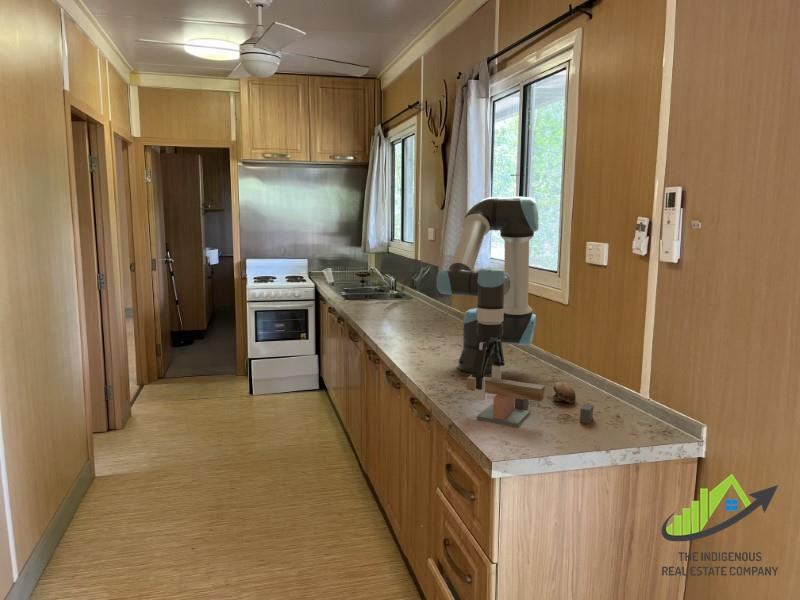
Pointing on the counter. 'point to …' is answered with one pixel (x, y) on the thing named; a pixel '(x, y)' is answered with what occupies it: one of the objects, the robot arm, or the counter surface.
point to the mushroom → (563, 392)
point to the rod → (510, 388)
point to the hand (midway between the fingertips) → (488, 393)
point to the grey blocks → (585, 410)
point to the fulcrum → (503, 412)
